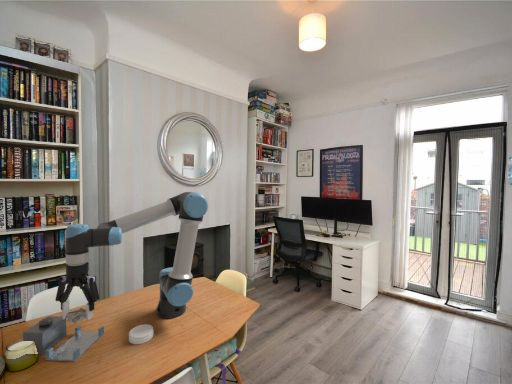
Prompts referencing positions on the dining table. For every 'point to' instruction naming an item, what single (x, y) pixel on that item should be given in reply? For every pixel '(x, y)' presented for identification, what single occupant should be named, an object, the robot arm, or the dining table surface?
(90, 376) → the dining table surface
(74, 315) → the stone
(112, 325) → the dining table surface
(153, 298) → the dining table surface
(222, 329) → the dining table surface
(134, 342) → the coaster
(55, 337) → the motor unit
